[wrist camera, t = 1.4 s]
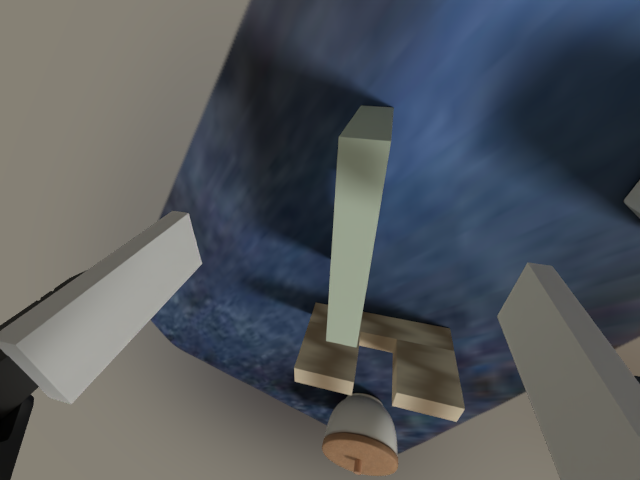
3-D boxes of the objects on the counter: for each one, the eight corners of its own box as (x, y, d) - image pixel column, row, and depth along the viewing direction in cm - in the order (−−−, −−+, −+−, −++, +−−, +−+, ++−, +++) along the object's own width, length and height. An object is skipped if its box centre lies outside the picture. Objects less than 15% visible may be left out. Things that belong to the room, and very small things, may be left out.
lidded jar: (326, 407, 49) (313, 471, 42) (340, 376, 43) (327, 445, 35) (385, 427, 48) (383, 497, 41) (408, 399, 42) (410, 475, 34)
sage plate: (360, 105, 22) (338, 136, 14) (393, 107, 21) (391, 141, 13) (344, 264, 31) (325, 341, 23) (367, 268, 30) (356, 347, 22)
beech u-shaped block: (315, 315, 36) (294, 381, 29) (315, 302, 35) (294, 367, 28) (443, 342, 34) (456, 421, 26) (449, 328, 32) (464, 409, 25)
